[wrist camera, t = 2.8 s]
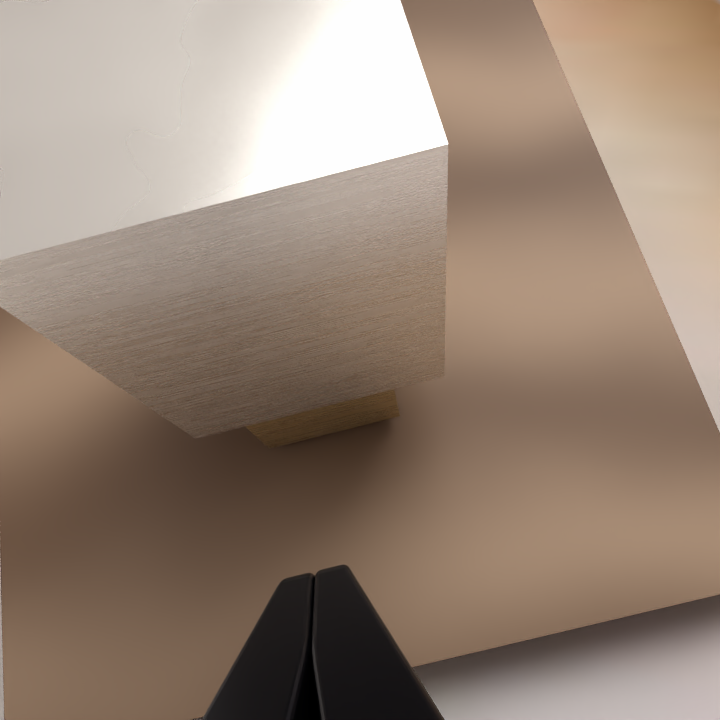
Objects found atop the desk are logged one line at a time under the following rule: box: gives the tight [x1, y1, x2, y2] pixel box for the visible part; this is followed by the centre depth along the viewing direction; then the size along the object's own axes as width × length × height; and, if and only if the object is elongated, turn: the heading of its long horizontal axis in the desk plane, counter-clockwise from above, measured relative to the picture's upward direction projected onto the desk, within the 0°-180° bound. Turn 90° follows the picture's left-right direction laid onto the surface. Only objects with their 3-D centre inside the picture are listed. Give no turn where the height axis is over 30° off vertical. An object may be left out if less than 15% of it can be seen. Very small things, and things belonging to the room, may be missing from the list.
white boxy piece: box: [0, 0, 448, 449], centre depth 12 cm, size 9×5×9 cm, turn 13°
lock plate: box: [0, 0, 720, 720], centre depth 16 cm, size 22×16×5 cm
